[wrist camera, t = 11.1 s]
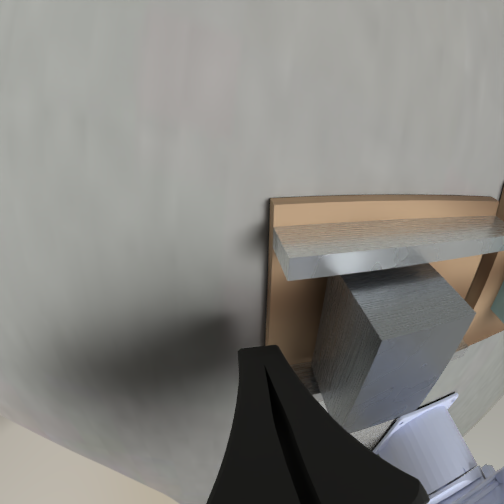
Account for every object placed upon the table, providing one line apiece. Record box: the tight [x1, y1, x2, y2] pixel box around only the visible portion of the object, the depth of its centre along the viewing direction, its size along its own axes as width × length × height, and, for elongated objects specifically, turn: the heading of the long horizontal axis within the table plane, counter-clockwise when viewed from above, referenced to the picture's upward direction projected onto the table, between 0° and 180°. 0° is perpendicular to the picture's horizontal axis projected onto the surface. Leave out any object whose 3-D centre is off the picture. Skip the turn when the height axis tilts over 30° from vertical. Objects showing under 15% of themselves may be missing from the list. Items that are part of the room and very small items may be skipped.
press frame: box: [265, 187, 504, 402], centre depth 14 cm, size 12×22×3 cm, turn 90°
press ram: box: [311, 263, 476, 433], centre depth 11 cm, size 6×5×4 cm
